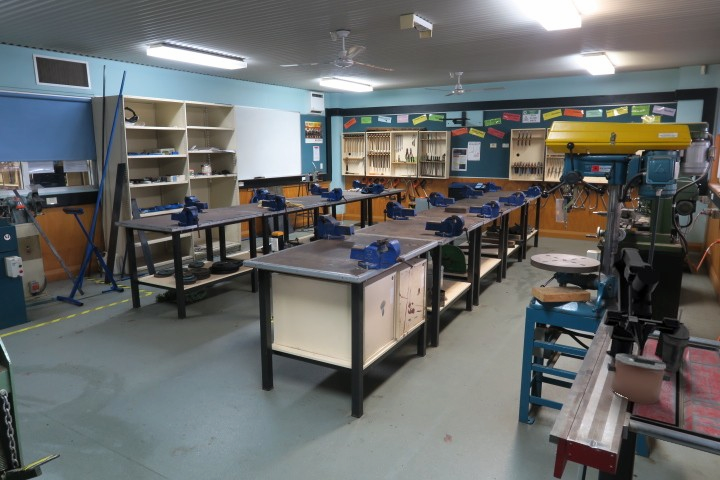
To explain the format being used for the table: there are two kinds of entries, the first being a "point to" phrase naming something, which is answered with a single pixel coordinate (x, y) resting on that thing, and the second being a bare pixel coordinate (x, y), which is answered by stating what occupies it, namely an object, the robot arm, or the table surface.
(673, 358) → the beverage cup
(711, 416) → the table surface
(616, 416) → the table surface
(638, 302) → the robot arm
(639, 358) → the cooker lid
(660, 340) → the phone stand
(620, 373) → the cooker pot
